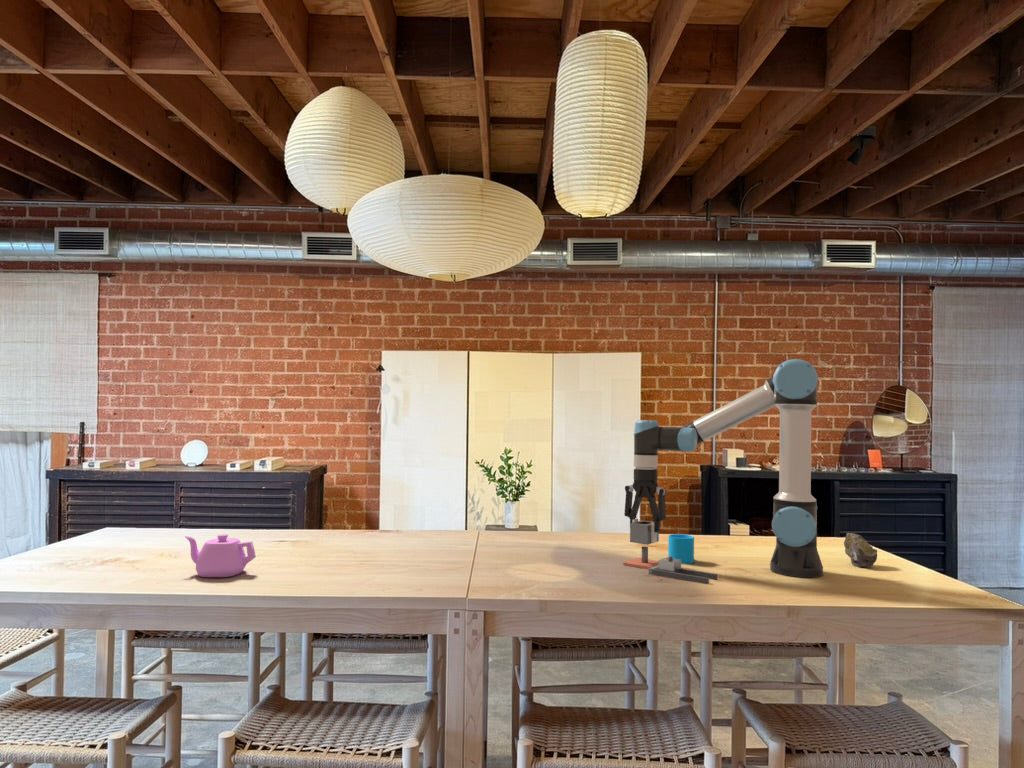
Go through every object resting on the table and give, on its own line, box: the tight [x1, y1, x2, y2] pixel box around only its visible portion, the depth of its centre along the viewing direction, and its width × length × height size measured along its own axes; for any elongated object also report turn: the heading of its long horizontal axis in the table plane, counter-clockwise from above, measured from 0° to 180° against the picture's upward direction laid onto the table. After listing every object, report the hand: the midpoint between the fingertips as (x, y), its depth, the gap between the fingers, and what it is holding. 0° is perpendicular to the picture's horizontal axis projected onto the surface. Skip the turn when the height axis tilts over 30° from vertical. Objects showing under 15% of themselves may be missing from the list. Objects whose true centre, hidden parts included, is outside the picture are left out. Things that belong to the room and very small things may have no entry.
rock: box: [843, 532, 878, 568], centre depth 222 cm, size 11×10×10 cm
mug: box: [667, 533, 695, 565], centre depth 226 cm, size 12×8×8 cm
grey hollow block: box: [629, 519, 660, 546], centre depth 218 cm, size 6×8×6 cm
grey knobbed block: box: [658, 555, 682, 573], centre depth 205 cm, size 5×5×5 cm
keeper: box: [622, 546, 659, 570], centre depth 218 cm, size 10×10×6 cm
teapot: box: [184, 533, 257, 578], centre depth 195 cm, size 13×20×11 cm
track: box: [648, 566, 718, 585], centre depth 202 cm, size 18×8×2 cm, turn 52°
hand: (644, 540), depth 218 cm, fingers closed on grey hollow block, 6 cm apart
